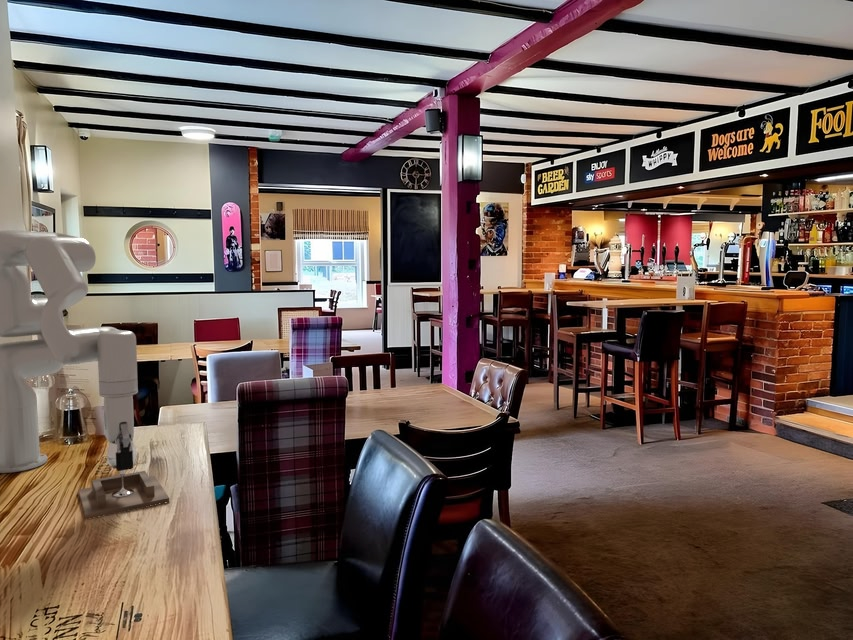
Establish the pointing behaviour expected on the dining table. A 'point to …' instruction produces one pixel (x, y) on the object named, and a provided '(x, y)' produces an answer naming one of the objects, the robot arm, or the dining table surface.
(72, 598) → the dining table surface
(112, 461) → the wineglass
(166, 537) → the dining table surface
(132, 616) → the dining table surface
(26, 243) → the robot arm
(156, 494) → the u rest
